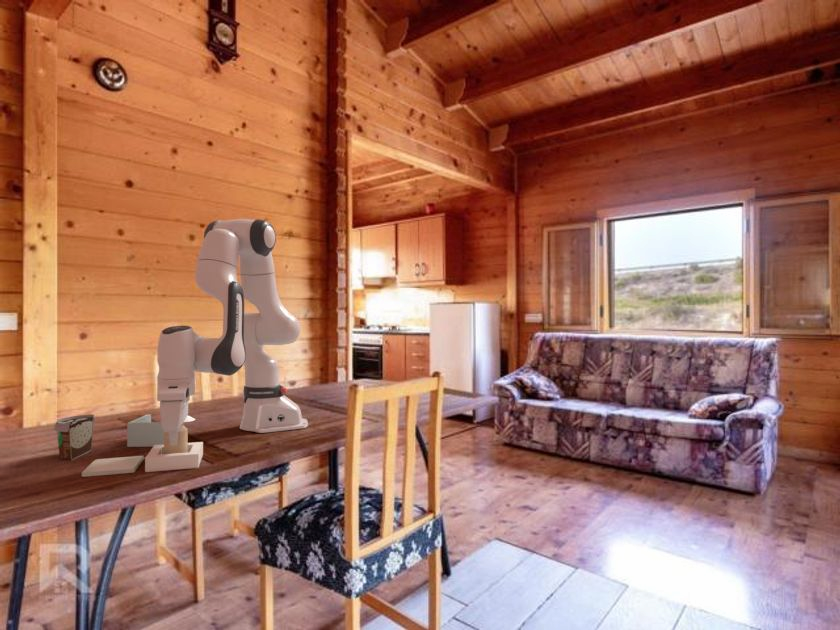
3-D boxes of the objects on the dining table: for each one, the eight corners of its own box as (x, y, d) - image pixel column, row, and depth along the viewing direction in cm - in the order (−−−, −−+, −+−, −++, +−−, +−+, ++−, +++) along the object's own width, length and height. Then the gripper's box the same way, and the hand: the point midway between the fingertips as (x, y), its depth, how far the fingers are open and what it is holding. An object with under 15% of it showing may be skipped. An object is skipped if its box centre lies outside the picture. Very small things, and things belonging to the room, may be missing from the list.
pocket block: (202, 454, 137) (203, 441, 137) (198, 467, 125) (198, 453, 125) (154, 458, 133) (154, 445, 133) (145, 472, 121) (145, 457, 121)
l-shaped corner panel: (169, 448, 144) (169, 422, 144) (127, 448, 144) (127, 423, 143) (186, 437, 156) (186, 414, 156) (147, 438, 156) (147, 414, 155)
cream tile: (143, 459, 132) (143, 455, 132) (134, 472, 121) (134, 468, 121) (95, 463, 128) (95, 459, 128) (81, 476, 118) (81, 472, 118)
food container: (72, 449, 140) (72, 414, 140) (94, 449, 141) (94, 414, 141) (42, 462, 128) (42, 424, 128) (67, 462, 128) (67, 424, 128)
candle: (177, 466, 126) (178, 427, 126) (159, 465, 127) (159, 426, 127) (192, 460, 131) (192, 422, 131) (173, 458, 132) (174, 421, 132)
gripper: (169, 383, 138) (168, 432, 138) (155, 395, 118) (155, 452, 118) (194, 382, 140) (193, 431, 140) (184, 394, 120) (184, 450, 120)
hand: (176, 441), depth 129 cm, fingers closed on candle, 5 cm apart
